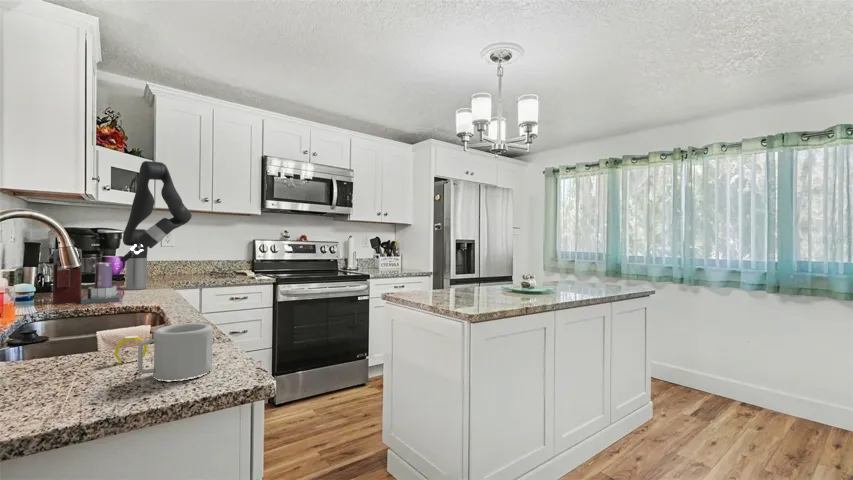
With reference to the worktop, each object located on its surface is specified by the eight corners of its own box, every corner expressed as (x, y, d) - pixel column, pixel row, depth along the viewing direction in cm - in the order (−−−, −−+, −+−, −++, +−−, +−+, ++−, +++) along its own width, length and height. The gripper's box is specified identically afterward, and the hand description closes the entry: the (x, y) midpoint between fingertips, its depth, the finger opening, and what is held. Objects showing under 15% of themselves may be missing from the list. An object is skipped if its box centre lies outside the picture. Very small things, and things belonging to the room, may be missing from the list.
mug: (200, 363, 92) (200, 320, 92) (220, 373, 85) (221, 327, 85) (129, 378, 81) (130, 330, 81) (146, 391, 75) (147, 339, 75)
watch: (143, 359, 95) (146, 334, 96) (147, 361, 94) (149, 336, 94) (112, 362, 91) (115, 336, 91) (115, 365, 89) (118, 338, 89)
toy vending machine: (52, 305, 165) (53, 238, 165) (54, 302, 174) (54, 238, 174) (81, 303, 171) (81, 238, 171) (81, 300, 179) (81, 238, 179)
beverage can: (114, 295, 182) (115, 262, 182) (103, 296, 176) (104, 263, 176) (102, 294, 183) (103, 262, 183) (90, 296, 177) (91, 262, 177)
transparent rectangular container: (85, 299, 183) (85, 286, 183) (121, 296, 190) (121, 284, 190) (80, 304, 168) (80, 290, 168) (119, 301, 176) (119, 288, 176)
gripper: (145, 230, 194) (116, 254, 188) (145, 230, 183) (114, 255, 176) (158, 241, 197) (129, 265, 191) (159, 242, 186) (128, 267, 179)
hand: (122, 260), depth 183 cm, fingers open, 8 cm apart
